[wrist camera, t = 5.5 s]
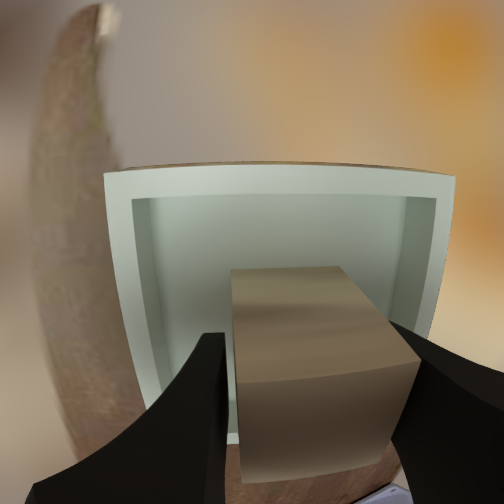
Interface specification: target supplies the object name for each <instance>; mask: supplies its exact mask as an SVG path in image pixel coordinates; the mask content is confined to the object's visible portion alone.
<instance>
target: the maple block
mask: <svg viewBox="0 0 504 504" xmlns="http://www.w3.org/2000/svg"><path fill="white" fill-rule="evenodd" d="M231 294H232V325H233V352H234V373H235V391H236V407H237V423H238V438H239V453H240V467H241V480H242V484H244V483H260V482H273V481H283V480H291V479H299V478H306V477H313V476H319V475H325V474H331V473H336V472H341V471H346V470H351V469H355V468H360V467H364V466H368V465H372V464H376V463H379V461H380V459H381V457H382V455H383V453H384V451H385V449H386V447H387V445H388V443H389V441H390V439H391V436H392V434H393V432H394V430H395V428H396V425H397V423H398V421H399V418H400V416H401V414H402V411H403V409H404V406H405V404H406V401H407V399H408V396H409V394H410V391H411V388H412V386H413V383H414V380H415V377H416V374H417V372H418V369H419V366H420V363H421V359H420V358H419V357H418V355H417V354H416V353H415V352H414V351H413V349H412V348H411V347H410V346H409V345H408V344H407V342H406V341H405V340H404V339H403V338H402V336H401V335H400V334H399V333H398V332H397V331H396V329H395V328H394V327H393V326H392V325H391V324H390V323H389V321H388V320H387V319H386V318H385V317H384V316H383V314H382V313H381V312H380V311H379V310H378V309H377V308H376V307H375V305H374V304H373V303H372V302H371V301H370V300H369V299H368V298H367V296H366V295H365V294H364V293H363V292H362V291H361V290H360V289H359V288H358V286H357V285H356V284H355V283H354V282H353V281H352V280H351V279H350V278H349V277H348V275H347V274H346V273H345V272H344V271H343V270H342V269H341V268H340V267H339V266H327V267H298V268H266V269H231Z"/></svg>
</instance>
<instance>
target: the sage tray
mask: <svg viewBox="0 0 504 504" xmlns="http://www.w3.org/2000/svg"><path fill="white" fill-rule="evenodd" d="M455 179H456V176H452V175H447V174H442V173H437V172H431V171H426V170H420V169H411V168H401V167H390V166H377V165H363V164H345V163H324V162H323V163H322V162H277V161H275V162H274V161H257V162H256V161H254V162H253V161H252V162H210V163H187V164H170V165H155V166H143V167H131V168H125V169H121V170H116V171H111V172H107V173H104V186H105V199H106V209H107V219H108V228H109V236H110V244H111V252H112V259H113V265H114V272H115V278H116V284H117V289H118V295H119V300H120V305H121V310H122V315H123V320H124V325H125V329H126V334H127V338H128V343H129V347H130V351H131V355H132V359H133V363H134V367H135V371H136V374H137V378H138V382H139V385H140V389H141V392H142V396H143V399H144V402H145V406H146V409H148V408H149V407H150V406H151V405H152V404H153V403H154V402H155V401H156V400H157V399H158V397H159V396H160V395H161V394H162V393H163V391H164V390H165V389H166V388H167V387H168V385H169V384H170V383H171V382H172V380H173V379H174V378H175V376H176V375H177V374H178V372H179V371H180V369H181V368H182V366H183V365H184V364H185V362H186V361H187V359H188V358H189V356H190V354H191V353H192V351H193V349H194V348H195V346H196V344H197V342H198V340H199V338H200V336H201V335H202V334H203V333H214V332H225V342H226V359H227V374H228V392H229V422H228V435H227V444H239V438H238V423H237V407H236V391H235V373H234V352H233V325H232V294H231V269H266V268H298V267H327V266H339V267H340V268H341V269H342V270H343V271H344V272H345V273H346V274H347V275H348V277H349V278H350V279H351V280H352V281H353V282H354V283H355V284H356V285H357V286H358V288H359V289H360V290H361V291H362V292H363V293H364V294H365V295H366V296H367V298H368V299H369V300H370V301H371V302H372V303H373V304H374V305H375V307H376V308H377V309H378V310H379V311H380V312H381V313H382V314H383V316H384V317H385V318H386V319H387V320H389V321H392V322H394V323H396V324H398V325H400V326H402V327H404V328H406V329H408V330H410V331H412V332H414V333H416V334H418V335H419V336H421V337H423V338H425V339H427V338H428V334H429V330H430V327H431V323H432V320H433V315H434V312H435V308H436V303H437V299H438V295H439V291H440V286H441V281H442V275H443V271H444V266H445V261H446V255H447V249H448V242H449V236H450V229H451V220H452V213H453V203H454V192H455Z"/></svg>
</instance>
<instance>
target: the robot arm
mask: <svg viewBox="0 0 504 504" xmlns="http://www.w3.org/2000/svg"><path fill="white" fill-rule="evenodd" d="M388 321H389V320H388ZM389 323H390V324H391V325H392V326H393V327H394V328H395V329H396V331H397V332H398V333H399V334H400V335H401V336H402V338H403V339H404V340H405V341H406V342H407V344H408V345H409V346H410V347H411V348H412V349H413V351H414V352H415V353H416V354H417V355H418V357H419V358H420V359H421V363H420V366H419V369H418V372H417V374H416V377H415V380H414V383H413V386H412V388H411V391H410V394H409V396H408V399H407V401H406V404H405V406H404V409H403V411H402V414H401V416H400V418H399V421H398V423H397V425H396V428H395V430H394V432H393V434H392V436H391V441H392V443H393V445H394V447H395V449H396V451H397V453H398V456H399V458H400V461H401V464H402V467H403V470H404V472H405V475H406V479H407V481H408V485H409V489H410V491H409V490H407V489H405V488H402V487H400V486H398V485H396V484H389V485H388V486H386V487H384V488H382V489H381V490H379V491H377V492H375V493H373V494H371V495H370V496H368V497H366V498H364V499H362V500H360V501H358V502H356V503H354V504H504V373H503V372H500V371H497V370H493V369H491V368H488V367H485V366H482V365H479V364H477V363H475V362H472V361H470V360H467V359H465V358H463V357H461V356H459V355H456V354H454V353H452V352H450V351H448V350H446V349H444V348H442V347H440V346H438V345H436V344H434V343H432V342H431V341H429V340H427V339H425V338H423V337H421V336H419V335H418V334H416V333H414V332H412V331H410V330H408V329H406V328H404V327H402V326H400V325H398V324H396V323H394V322H392V321H389ZM228 422H229V392H228V374H227V359H226V342H225V332H214V333H203V334H202V335H201V336H200V338H199V340H198V342H197V344H196V346H195V348H194V349H193V351H192V353H191V354H190V356H189V358H188V359H187V361H186V362H185V364H184V365H183V366H182V368H181V369H180V371H179V372H178V374H177V375H176V376H175V378H174V379H173V380H172V382H171V383H170V384H169V385H168V387H167V388H166V389H165V390H164V391H163V393H162V394H161V395H160V396H159V397H158V399H157V400H156V401H155V402H154V403H153V404H152V405H151V406H150V407H149V408H148V409H147V410H146V411H145V412H144V413H143V414H142V415H141V416H140V417H139V418H138V419H137V420H136V421H135V422H134V423H132V424H131V425H130V426H129V427H128V428H127V429H126V430H124V431H123V432H122V433H121V434H120V435H118V436H117V437H116V438H115V439H113V440H112V441H111V442H109V443H108V444H106V445H105V446H104V447H102V448H101V449H99V450H98V451H96V452H95V453H93V454H91V455H90V456H88V457H87V458H85V459H84V460H82V461H80V462H79V463H77V464H75V465H73V466H71V467H70V468H68V469H66V470H64V471H61V472H59V473H57V474H55V475H53V476H51V477H48V478H46V479H44V480H42V481H40V482H37V483H34V484H33V486H32V488H31V490H30V492H29V495H28V496H27V498H26V501H25V504H225V485H224V484H225V462H226V448H227V435H228Z"/></svg>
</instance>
